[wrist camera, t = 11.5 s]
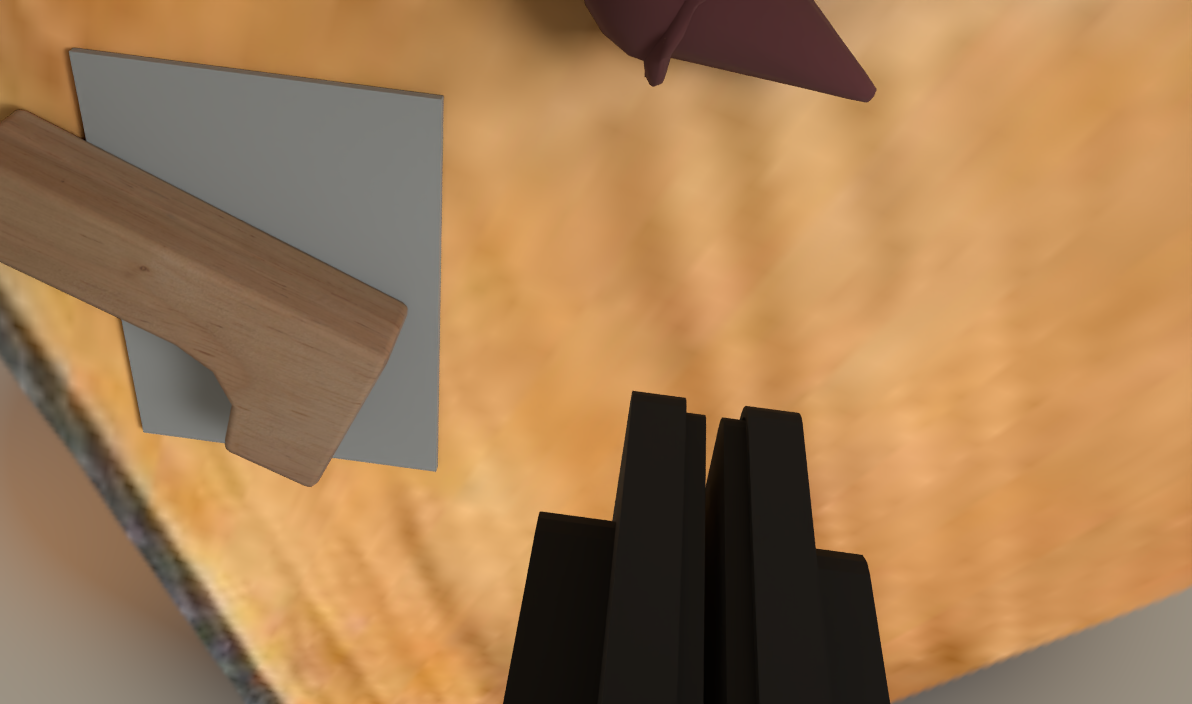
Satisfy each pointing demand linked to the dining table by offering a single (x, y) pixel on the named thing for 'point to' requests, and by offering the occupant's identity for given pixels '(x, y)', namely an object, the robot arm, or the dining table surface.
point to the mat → (289, 216)
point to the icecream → (737, 40)
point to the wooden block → (200, 291)
